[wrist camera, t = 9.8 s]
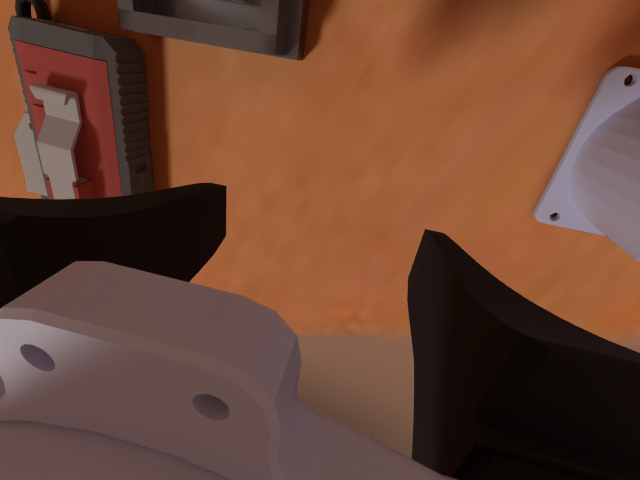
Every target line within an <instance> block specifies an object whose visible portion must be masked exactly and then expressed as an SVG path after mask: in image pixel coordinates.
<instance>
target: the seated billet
mask: <svg viewBox="0 0 640 480" xmlns="http://www.w3.org/2000/svg"><path fill="white" fill-rule="evenodd" d="M224 1H230V2H236V3H243V4H249V5H252V0H224Z"/></svg>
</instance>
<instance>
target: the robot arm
mask: <svg viewBox="0 0 640 480" xmlns="http://www.w3.org/2000/svg"><path fill="white" fill-rule="evenodd" d="M630 74H631V75H632V77H633V78H632V81H631V82H630V84H628V85H626V86H625V84H624V80H625V78H626V77H627V76H629V75H630ZM553 213H557V216H556V217H554V218H550V215H551V214H553ZM534 217H535V218H536V219H537V221H539V222H541V223H546V224H551V225H556V226H560V227H565V228H570V229H575V230H580V231H584V232H589V233H594V234H599V235H604V236H607V237H608V238H609V239H611V240H612V241H613V242H614V243H615V244H617V245H618V246H619V247H620V248H622V249H623V250H624V251H625V252H627V253H628V254H629V255H630V256H632V257H633V258H634V259H635V260H636V261H638V262H639V263H640V69H639V68H633V67H627V66H616V67H614V68H611V69H610V70H609V71H607V73H606V74H605V75H604V77H603V79H602V81H601V83H600V85H599V86H598V88H597V90H596V92H595V94H594V96H593V98H592V100H591V102H590V104H589V106H588V108H587V110H586V112H585V114H584V116H583V117H582V119H581V121H580V123H579V125H578V127H577V129H576V131H575V133H574V135H573V137H572V139H571V141H570V143H569V145H568V147H567V148H566V150H565V152H564V154H563V156H562V158H561V160H560V162H559V164H558V166H557V168H556V170H555V172H554V174H553V176H552V178H551V179H550V181H549V183H548V185H547V187H546V189H545V191H544V193H543V195H542V197H541V199H540V201H539V203H538V205H537V207H536V209H535V210H534ZM225 236H226V186H223V185H219V184H214V183H198V184H191V185H186V186H180V187H175V188H169V189H164V190H158V191H152V192H146V193H140V194H133V195H126V196H117V197H105V198H91V199H27V198H8V197H0V480H640V353H638V352H636V351H633V350H631V349H628V348H626V347H623V346H621V345H618V344H615V343H613V342H610V341H608V340H606V339H603V338H601V337H599V336H597V335H595V334H593V333H590V332H588V331H586V330H584V329H582V328H580V327H577V326H575V325H573V324H571V323H569V322H567V321H565V320H563V319H561V318H559V317H558V316H556V315H554V314H552V313H550V312H549V311H547V310H545V309H543V308H541V307H540V306H538V305H536V304H534V303H533V302H531V301H529V300H528V299H526V298H524V297H523V296H521V295H520V294H518V293H517V292H515V291H514V290H512V289H511V288H509V287H508V286H506V285H505V284H504V283H502V282H501V281H500V280H498V279H497V278H496V277H494V276H493V275H492V274H491V273H489V272H488V271H487V270H486V269H484V268H483V267H482V266H481V265H480V264H478V263H477V262H476V261H475V260H474V259H473V258H472V257H470V256H469V255H468V254H467V253H466V252H465V251H464V250H463V249H462V248H461V247H460V246H458V245H457V244H456V243H455V242H454V241H453V240H452V239H451V238H449V237H448V236H447V235H445V234H444V233H440V232H436V231H431V230H427V229H425V231H424V234H423V237H422V240H421V243H420V246H419V248H418V251H417V254H416V257H415V260H414V263H413V266H412V269H411V272H410V274H409V277H408V299H407V301H408V311H409V320H410V328H411V337H412V345H413V354H414V424H413V448H412V449H413V450H412V459H411V458H409V457H407V456H405V455H403V454H401V453H400V452H398V451H396V450H394V449H392V448H390V447H388V446H386V445H384V444H383V443H381V442H379V441H377V440H375V439H373V438H371V437H370V436H368V435H366V434H364V433H362V432H360V431H358V430H356V429H354V428H353V427H351V426H349V425H347V424H345V423H343V422H341V421H340V420H338V419H336V418H334V417H332V416H330V415H328V414H326V413H325V412H323V411H321V410H319V409H317V408H315V407H313V406H311V405H310V404H308V403H306V402H304V401H302V400H300V399H299V397H298V379H299V374H300V368H301V362H302V360H301V354H300V349H299V343H298V338H297V335H296V334H295V333H294V332H293V331H292V329H291V328H290V327H289V326H288V325H287V324H286V323H285V322H284V320H283V319H282V318H281V317H280V316H279V315H278V314H277V312H276V311H274V310H272V309H270V308H268V307H265V306H263V305H261V304H259V303H257V302H255V301H253V300H251V299H248V298H246V297H244V296H241V295H237V294H233V293H229V292H225V291H221V290H217V289H213V288H209V287H205V286H201V285H197V284H193V283H189V282H190V280H191V279H192V278H193V277H194V276H195V275H196V274H197V273H198V272H199V271H200V269H201V268H202V267H203V266H204V265H205V264H206V263H207V262H208V260H209V259H210V258H211V257H212V256H213V255H214V253H215V252H216V250H217V249H218V247H219V246H220V244H221V243H222V241H223V239H224V238H225Z"/></svg>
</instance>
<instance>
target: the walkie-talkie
mask: <svg viewBox="0 0 640 480" xmlns="http://www.w3.org/2000/svg"><path fill="white" fill-rule="evenodd" d="M31 3H32V5H33V6H34V9H35V11H36V15H37V18H32V17H31ZM15 10H16V15H17V16H11V19H10V22H9V26H8V30H9V33H10V40H11V42H12V45H13V52H14V54H15V58H16V60H15V61H16V63H17V66H18V73H19V75H20V79H21V81H20V82H21V84H22V87H23V94H24V96H25V102H26V104H25V106H26V110H27V112H25V114H24V116H23V118H22V120H21V122H20V124H19V126H18V128H17V130H16V132H15V134H14V136H15V140H16V144H17V148H18V152H19V155H20V159H21V163H22V167H23V171H24V175H25V178H26V179H25V181H24V182H25V186H26V189H27V191H29V192H33V193H37V194H40V195H41V197H42V199H91V198H105V197H117V196H126V195H133V194H140V193H146V192H152V191H154V187H153V171H152V156H151V152H150V147H151V145H150V144H149V139H150V136H149V131H150V128H148V122H149V119H148V116H147V114H149V111H148V110H147V105H148V102H147V101H146V96H147V95H148V94H147V92H146V86H147V83H146V82H145V76H146V73H145V71H144V67H145V66H146V63H144V56H145V54H144V53H143V51H142V50H141V48H140V47H139V46H138V44H137V43H136V41H135V40H134V39H130V38H126V37H121V36H117V35H113V34H108V33H104V32H100V31H95V30H91V29H87V28H82V27H78V26H74V25H70V24H65V23H61V22H57V21H52V19H51V15H50V11H49V9H48V7H47V5H46V3H45V2H44V0H16V4H15Z"/></svg>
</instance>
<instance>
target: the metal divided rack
mask: <svg viewBox="0 0 640 480" xmlns="http://www.w3.org/2000/svg"><path fill="white" fill-rule="evenodd" d="M117 5H118V13H119V21H120V28H122V29H128V30H134V32H139V33H145V34H151V35H156V36H162V37H168V38H174V39H179V40H185V41H191V42H196V43H202V44H208V45H214V46H219V47H225V48H231V49H237V50H242V51H248V52H254V53H259V54H265V55H271V56H277V57H282V58H288V59H294V60H303V52H304V43H305V34H306V24H307V15H308V6H309V0H252V5H249V4H243V3H236V2H230V1H224V0H117Z"/></svg>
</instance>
